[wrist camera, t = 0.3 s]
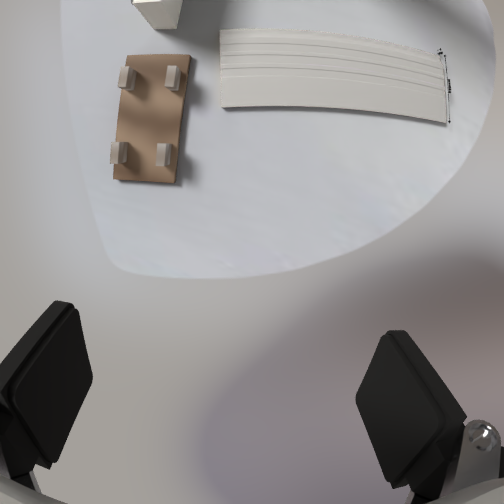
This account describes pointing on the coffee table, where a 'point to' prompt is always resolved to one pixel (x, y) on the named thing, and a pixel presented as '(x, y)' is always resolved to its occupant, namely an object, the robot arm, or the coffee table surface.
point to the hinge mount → (150, 117)
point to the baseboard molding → (329, 73)
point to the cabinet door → (160, 12)
